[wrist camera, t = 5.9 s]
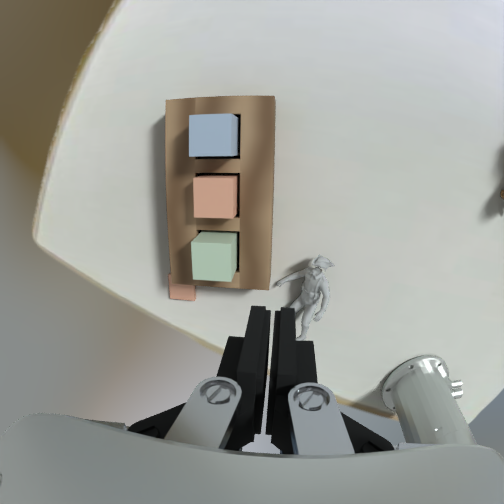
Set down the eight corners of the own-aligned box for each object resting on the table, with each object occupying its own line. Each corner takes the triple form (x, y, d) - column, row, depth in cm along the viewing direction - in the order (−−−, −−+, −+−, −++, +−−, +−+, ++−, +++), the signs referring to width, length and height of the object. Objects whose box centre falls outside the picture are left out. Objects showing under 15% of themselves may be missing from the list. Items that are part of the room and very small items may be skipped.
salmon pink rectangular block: (240, 174, 36) (233, 178, 31) (240, 208, 37) (233, 218, 32) (206, 173, 36) (193, 178, 31) (206, 207, 38) (194, 217, 33)
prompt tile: (194, 275, 41) (193, 276, 41) (195, 298, 43) (194, 300, 42) (169, 273, 42) (168, 274, 41) (171, 296, 43) (170, 298, 42)
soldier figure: (266, 317, 44) (277, 250, 36) (292, 303, 46) (307, 238, 39) (303, 354, 39) (325, 289, 32) (328, 337, 41) (353, 273, 34)
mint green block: (238, 230, 37) (230, 243, 32) (238, 263, 38) (231, 281, 33) (203, 228, 37) (190, 242, 32) (205, 261, 38) (193, 279, 33)
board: (275, 101, 33) (274, 95, 30) (270, 276, 40) (268, 290, 37) (177, 104, 34) (165, 100, 31) (181, 271, 41) (171, 283, 38)
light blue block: (239, 118, 33) (231, 113, 27) (239, 155, 34) (231, 156, 29) (203, 119, 33) (189, 115, 28) (203, 155, 34) (189, 156, 29)
